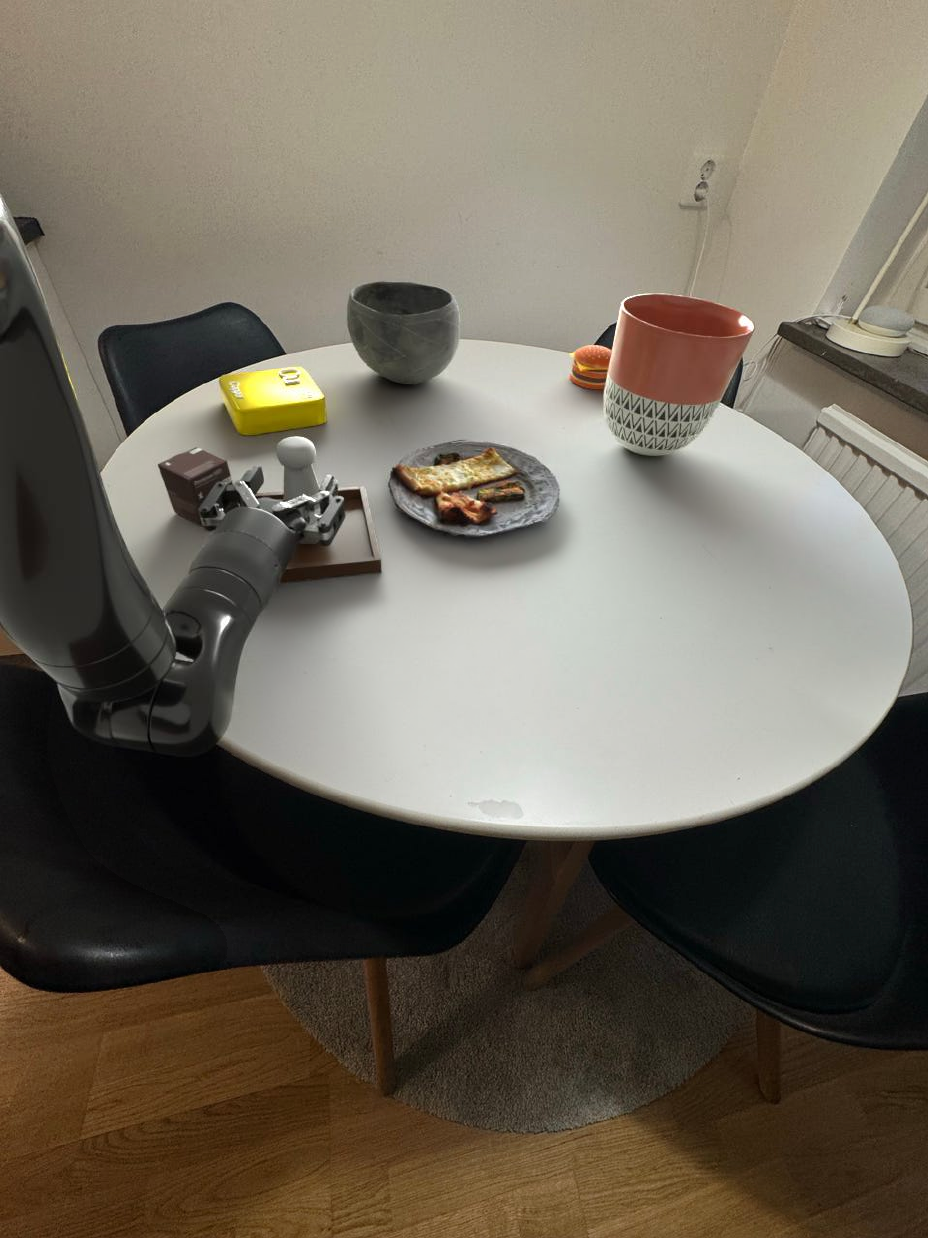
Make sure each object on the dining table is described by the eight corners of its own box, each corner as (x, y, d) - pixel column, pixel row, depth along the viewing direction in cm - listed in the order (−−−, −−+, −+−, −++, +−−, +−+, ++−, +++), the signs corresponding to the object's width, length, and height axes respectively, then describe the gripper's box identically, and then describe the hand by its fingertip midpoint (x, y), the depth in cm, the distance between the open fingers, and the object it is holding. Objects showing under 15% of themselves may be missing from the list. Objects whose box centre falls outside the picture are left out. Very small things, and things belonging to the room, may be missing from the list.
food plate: (424, 561, 70) (425, 539, 67) (367, 469, 84) (366, 448, 82) (585, 522, 79) (591, 501, 76) (508, 445, 93) (511, 426, 90)
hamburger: (619, 390, 113) (628, 356, 108) (575, 390, 111) (582, 356, 107) (604, 371, 119) (612, 339, 115) (562, 371, 118) (569, 338, 113)
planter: (623, 482, 87) (669, 340, 72) (569, 425, 100) (598, 294, 84) (722, 469, 93) (784, 334, 77) (659, 417, 105) (701, 292, 90)
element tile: (222, 399, 97) (215, 371, 93) (305, 388, 102) (302, 362, 99) (239, 438, 88) (232, 409, 85) (330, 424, 93) (327, 396, 90)
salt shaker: (341, 532, 72) (332, 440, 62) (311, 554, 68) (296, 460, 59) (308, 516, 74) (294, 425, 64) (276, 537, 70) (257, 443, 61)
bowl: (346, 358, 114) (339, 275, 103) (444, 356, 119) (448, 277, 108) (356, 402, 100) (350, 312, 89) (468, 398, 105) (475, 312, 94)
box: (204, 529, 71) (188, 480, 66) (173, 513, 73) (155, 463, 68) (241, 508, 75) (228, 460, 70) (210, 493, 77) (196, 445, 72)
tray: (240, 587, 64) (236, 573, 63) (244, 507, 75) (241, 493, 74) (381, 572, 68) (381, 559, 66) (365, 498, 79) (364, 485, 77)
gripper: (310, 543, 50) (353, 455, 61) (157, 523, 50) (228, 440, 61) (319, 602, 55) (357, 511, 67) (181, 584, 55) (242, 497, 67)
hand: (295, 477), depth 64 cm, fingers open, 8 cm apart
